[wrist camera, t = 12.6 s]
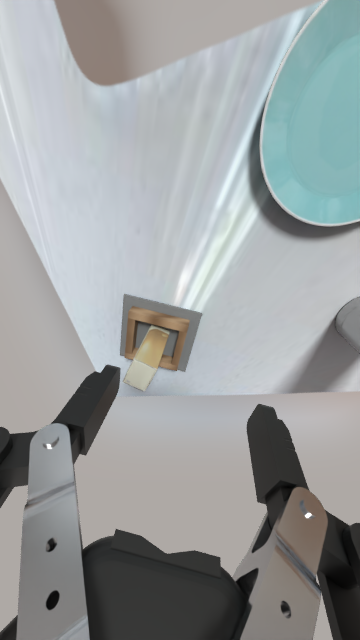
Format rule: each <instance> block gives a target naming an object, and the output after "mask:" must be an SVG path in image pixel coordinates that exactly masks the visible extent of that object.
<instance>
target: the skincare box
mask: <svg viewBox="0 0 360 640" xmlns="http://www.w3.org/2000/svg"><path fill="white" fill-rule="evenodd" d="M169 334H170V331H169V330H167V329H165V328H163V327H161V326H158V325H154V324H151V326H150V328H149V330H148V332H147V334H146V336H145V338H144V340H143V342H142V343H141V345H140V347H139V349H138V351H137V353H136V355H135V357H134V359H133V361H132V363H131V365H130V367H129V369H128V371H127V373H126V375H125V378H124V380H123V382H124V383H126V384H128V385H130V386H133V387H135V388H137V389H139V390H142V391H145V390H146V389H147V387H148V386H149V384H150V382H151V381H152V379H153V377H154V375H155V373H156V371H157V369H158V366H159V363H160V360H161V357H162V354H163V351H164V348H165V345H166V342H167V339H168V337H169Z"/></svg>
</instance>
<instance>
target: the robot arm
mask: <svg viewBox="0 0 360 640" xmlns="http://www.w3.org/2000/svg"><path fill="white" fill-rule="evenodd" d="M336 329H337V331H338V332H339V333H340V334H341V335H342V336H343V337H344V338H345V339H346V340H347V341H348V342H349V343H350V344H351V346H352V347H353V348H354V349H355V350H356V351H357V352H358V353H359V354H360V297H358V298H356V299H354V300H352V301H350V302H349V303H348V304H346V305H345V306H344V307H343V308H342V309H341V311H340V312H339V314H338V315H337V318H336ZM119 383H120V368H119V367H115V366H111V365H106V366H105V367H104V369H103V370H102V372H101V373H99V372H94V373H92V374H90V375H89V376H88V377H86V378H85V380H84V381H83V382H82V384H81V385H80V387H79V388H78V389H77V391H76V392H75V394H74V395H73V396H72V398H71V399H70V400H69V402H68V403H67V404H66V406H65V407H64V408H63V410H62V411H61V412H60V414H59V415H58V416H57V418H56V419H55V420H54V421H53V422H52V423H51V424H50V425H47V426H45V427H43V428H42V429H40V430H39V431H35V432H29V433H17V434H9V431H8V430H7V429H5V428H3V427H0V508H1V506H2V505H3V503H4V501H5V500H6V499H7V497H8V495H9V494H10V492H11V491H12V489H13V488H14V487H17V486H24V485H28V499H27V504H26V505H25V508H24V514H23V526H22V546H21V563H20V582H19V602H18V615H17V616H16V617H15V618H14V619H13V620H12V621H11V622H10V623H9V624H8V625H7V626H6V627H5V628H4V629H3V630H2V631H1V632H0V640H313V635H314V631H315V626H316V621H317V616H318V611H319V605H320V599H321V592H322V596H323V600H324V604H325V608H326V613H327V617H328V621H329V624H330V629H331V633H332V637H333V640H360V523H355V524H352V525H351V526H349V525H348V524H346V523H344V522H343V521H341V520H339V519H338V518H337V517H335V516H333V515H332V514H330V513H329V512H327V511H326V510H325V509H324V507H323V506H322V504H321V502H320V501H319V500H318V498H317V497H316V496H315V495H314V494H313V493H312V492H310V491H309V489H308V486H307V483H306V480H305V477H304V474H303V471H302V468H301V465H300V462H299V459H298V456H297V454H296V452H295V447H294V445H293V443H292V439H291V436H290V433H289V430H288V428H287V427H286V426H285V424H284V423H283V421H282V420H279V419H277V415H276V412H275V410H274V408H273V407H269V406H265V405H262V404H258V405H257V407H256V408H255V410H254V411H253V413H252V415H251V416H250V418H249V419H248V422H247V435H248V442H249V448H250V455H251V462H252V468H253V475H254V482H255V488H256V495H257V501H258V502H260V503H263V504H266V506H267V513H266V514H265V516H264V518H263V520H262V523H261V525H260V527H259V529H258V531H257V533H256V536H255V538H254V540H253V542H252V544H251V546H250V548H249V550H248V552H247V554H246V556H245V557H244V559H243V560H242V561H241V563H240V565H239V566H238V568H237V569H236V571H235V573H234V575H233V577H231V576H230V574H229V573H228V572H227V571H225V570H224V569H223V568H222V567H221V566H220V557H216V556H213V555H209V554H206V553H202V552H198V551H187V552H179V553H171V554H167V553H164V552H163V551H161V550H160V549H159V548H157V547H156V546H154V545H153V544H152V543H150V542H149V541H147V540H146V539H145V538H143V537H142V536H140V535H136V534H132V533H129V532H125V531H121V530H118V529H116V531H115V534H114V536H109V537H105V538H101V539H99V540H97V541H95V542H93V543H91V544H90V545H88V546H87V547H85V548H84V549H83V545H82V535H81V527H80V517H79V510H78V500H77V490H76V481H75V472H74V463H75V461H76V459H77V457H78V456H79V454H82V455H86V454H87V452H88V450H89V448H90V447H91V444H92V443H93V441H94V439H95V437H96V435H97V433H98V431H99V429H100V427H101V425H102V423H103V421H104V419H105V417H106V415H107V413H108V411H109V409H110V407H111V405H112V403H113V401H114V399H115V397H116V395H117V393H118V389H119ZM316 574H317V576H318V580H319V584H320V586H319V585H318V583H317V582H316ZM320 588H321V589H320Z"/></svg>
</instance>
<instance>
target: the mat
mask: <svg viewBox="0 0 360 640" xmlns="http://www.w3.org/2000/svg"><path fill="white" fill-rule="evenodd" d="M132 306H135V307H139V308H143V309H147V310H151V311H155V312H159V313H163V314H167V315H171V316H175V317H179V318H183V319H187V320H190V322H189V327H188V331H187V334H186V338H185V342H184V346H183V349H182V353H181V357H180V361H179V364H178V368H177V370H181V371H184V372H185V370H186V366H187V363H188V360H189V356H190V353H191V349H192V346H193V343H194V339H195V336H196V333H197V329H198V326H199V322H200V319H201V316H202V313H200V312H195V311H191V310H187V309H183V308H179V307H175V306H171V305H167V304H163V303H159V302H155V301H151V300H147V299H143V298H139V297H135V296H131V295H127V294H124V300H123V316H122V331H121V347H120V355H122V356H125V347H126V334H127V322H128V311H129V310H130V309H131V307H132ZM150 326H151V324H150V323H146V322H142V321H138V329H137V337H136V346H135V347H136V348H139V347H140V345H141V343H142V342H143V340H144V338H145V336H146V334H147V332H148V330H149V328H150ZM161 327H162V326H161ZM163 328H165V329H167V330H169V331H170V334H169V337H168V339H167V342H166V345H165V348H164V351H163V355H167V356H171V357H173V356H174V352H175V347H176V343H177V339H178V335H179V331H178V330H174V329H170V328H166V327H163Z"/></svg>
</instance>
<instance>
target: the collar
mask: <svg viewBox="0 0 360 640" xmlns="http://www.w3.org/2000/svg"><path fill="white" fill-rule="evenodd" d="M138 321H142V322H146V323H150V324H154V325H158V326H162V327H166V328H170V329H174V330H178V331H179V335H178V339H177V343H176V347H175V352H174V356H173V357H171V356H167V355H163V354H162V357H161V360H160V363H159V367H163V368H167V369H171V370H175V371H177V368H178V364H179V361H180V357H181V353H182V349H183V346H184V342H185V338H186V334H187V331H188V327H189V322H190V320H187V319H183V318H179V317H175V316H171V315H167V314H163V313H159V312H155V311H151V310H147V309H143V308H139V307H135V306H132V307H131V309H130V310H129V311H128V322H127V334H126V347H125V358H128V359H132V360H133V359H134V357H135V355H136V353H137V351H138V349H139V348H136V347H135V346H136V337H137V329H138Z"/></svg>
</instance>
